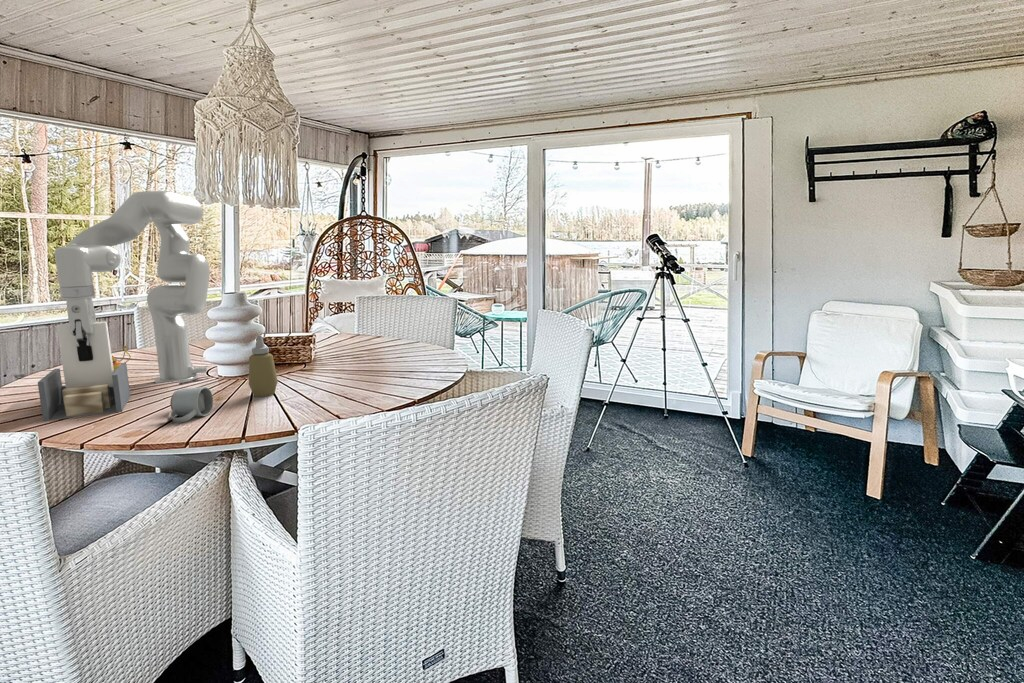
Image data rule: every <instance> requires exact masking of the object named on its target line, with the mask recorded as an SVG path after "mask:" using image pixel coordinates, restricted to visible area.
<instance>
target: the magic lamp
mask: <svg viewBox="0 0 1024 683" xmlns="http://www.w3.org/2000/svg"><path fill="white" fill-rule="evenodd" d="M127 346H128V345H127V344H125V345H123V346H122V348H123V355H122V357H121V359H117V358H116V357H115V356H114V355H112V361H113V368H114V372H115V371H116V369H117V368H118V367H119V365H120V364H121V363H122V361H123V360H124V359H125V355H126V354H127V355H128V356H129V357H128V359H127V360H125V361H124V362H123V363H126V364H127V362H128V361H130V360H131V358H132V357H131V355H130V353H129V352H128V350H127V349H128V347H127Z"/></svg>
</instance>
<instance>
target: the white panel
mask: <svg viewBox="0 0 1024 683" xmlns="http://www.w3.org/2000/svg"><path fill="white" fill-rule="evenodd" d="M108 328H109V326H108V321H106V320H105V321H97V322H95V323H94V330H95V333H94V334H92V335H90V333H88V335H89V342H90V346H91V347H92V354H93V360H91V361H79V358H78V352H77V343H76V336H73V335H72V334H71V331H70V326H69V323H65V324H64V323H63V324H58V325H56V333H57V339H58V346H59V352H60V357H61V365H62V371H63V376H64V384H65V385H64V386H66V388H74V387H84V386H94V385H104V384H109V387H113V380H112V374H113V373H114V368H113V361H112V356H113V355H112V349H111V348H112V347H111V341H110V340H111V339H110V334H109V333H110V332H109V329H108ZM73 333H75V329H74V332H73ZM74 335H75V334H74ZM83 335H86V333H83ZM83 338H84V337H83ZM85 339H86V337H85Z"/></svg>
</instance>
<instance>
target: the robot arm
mask: <svg viewBox="0 0 1024 683" xmlns="http://www.w3.org/2000/svg"><path fill="white" fill-rule="evenodd" d="M203 210H204V209H203V207H202V205H201V203H200V202H199V201H198V200H197V199H196V198H194V197H192V196H187V195H183V194H178V193H176V192H170V191H165V190H155V191H154V190H150V191H149V190H148V191H147V190H145V191H136V192H133V193H132V194H131V195H129V197H128V198H127V199H126V200H125V201H124V202H122V204H121V205H120V206H119V207H118V208H117V209H116V210H115V211H114V212H113V214H112V215H111V216H109V217H108V218H106V219H104V220H102V221H100V222H97V223H96V224H94V225H92V226H90V227H88V228H86V229H84V230H82V231H81V232H79V233H78V234H77V235H76V236H75V237H73V239H71V240H70V241H69V243H68V244H67V245H65V246H59V247H57V248H55V249H54V259H55V260H54V261H55V266H56V271H57V272H56V274H57V280H58V287H59V292H60V298H61V300H63V301H66V309H67V317H68V319H67V320H68V324H69V326H70V331H71V334H72V335H73V336H76V343H77V352H78V358H79V361H91V360H93V354H92V347H91V346H90V342H89V335H88V333H90V335H92V334H94V333H95V330H94V323H95V322H98V321H97V317H96V310H95V305H94V302H93V299H92V298H96V295H95V294H96V293H95V286H94V281H93V280H94V279H93V273H108V272H112V271H115V270H116V269H117V268H118V267H119V266H120V264H121V261H122V260H121V255H120V253H119V251H118V250H117V249H116V248H114V246H118V245H122V244H125V243H128V242H131V241H133V240H135V239H136V238H138V236H139V235H140V234H141V233H142V232H143V231H144V230H145V228H146V227H147V226H148V225H149V224H150V223H151V221H152V223H153V224H154V226H155V227H156V229H157V231H158V233H159V237H160V246H159V253H158V260H157V267H156V268H157V270H156V271H157V272H156V273H157V276H158V278H159V279H160V280H161V281H163V282H166V283H185V284H184V285H178V284H177V285H173V284H172V285H168V284H167V285H166V284H165V285H158V286H155V287H153V288H152V289H150V290H149V291H148V293H147V295H146V296H147V297H146V303H147V307H148V310H149V313H150V315H151V319H152V324H153V332H154V339H155V348H156V357H157V364H158V373H159V376H157V377H155V378H154V383H155V384H164V383H174V382H179V384H184V383H188V382H193V381H195V380H196V379H198V374H204V373H208V372H207V371H208V370H207V366H197V367H196V366H193V365H194V364H193V363H192V361H191V352H190V342H189V334H188V326H187V324H186V322H185V320H184V318H183V317H182V316H184V315H185V316H190V315H192V316H193V315H199V314H200V313H202V312H203V311H204V309H205V307H206V303H207V299H208V298H207V297H208V292H209V291H208V290H209V284H210V274H211V272H210V270H211V268H210V265H209V262H208V260H207V258H206V257H205V256H204V255H202V254H200V253H195V252H194V253H193V252H192V253H191V252H190V246H191V241H190V238H189V236H188V234H187V232H186V231H185V230H184V228H183V227H182V225H195V224H197V223H199V222H200V221H201V220H202V219H203V215H204V211H203ZM74 329H75V333H73V332H74ZM83 333H86V335H83ZM74 334H75V335H74ZM83 337H84V338H83ZM85 337H86V339H85Z"/></svg>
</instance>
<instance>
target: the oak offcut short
mask: <svg viewBox="0 0 1024 683" xmlns="http://www.w3.org/2000/svg"><path fill="white" fill-rule="evenodd" d="M64 402H65V409H66V416H73V415H82V414H90V413H99V412H103V411H104V410H105V406H104V398H103V391H100V392H90V393H80V394H71V395H66V396H65V397H64Z"/></svg>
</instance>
